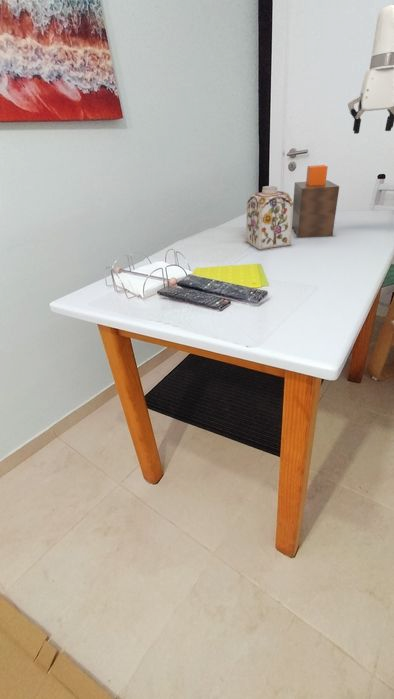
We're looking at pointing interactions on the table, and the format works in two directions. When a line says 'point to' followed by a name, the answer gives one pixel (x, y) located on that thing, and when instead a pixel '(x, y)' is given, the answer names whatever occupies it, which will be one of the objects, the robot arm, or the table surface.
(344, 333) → the table surface
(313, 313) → the table surface
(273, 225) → the decorative jar
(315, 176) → the cube
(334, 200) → the wooden grain block
